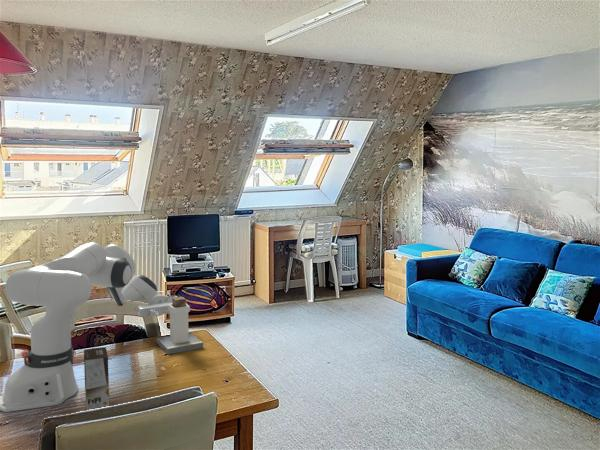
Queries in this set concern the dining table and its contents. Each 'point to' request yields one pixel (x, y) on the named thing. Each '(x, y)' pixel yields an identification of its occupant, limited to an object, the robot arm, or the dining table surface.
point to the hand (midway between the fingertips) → (168, 312)
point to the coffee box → (96, 378)
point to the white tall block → (179, 323)
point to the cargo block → (178, 302)
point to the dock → (179, 344)
